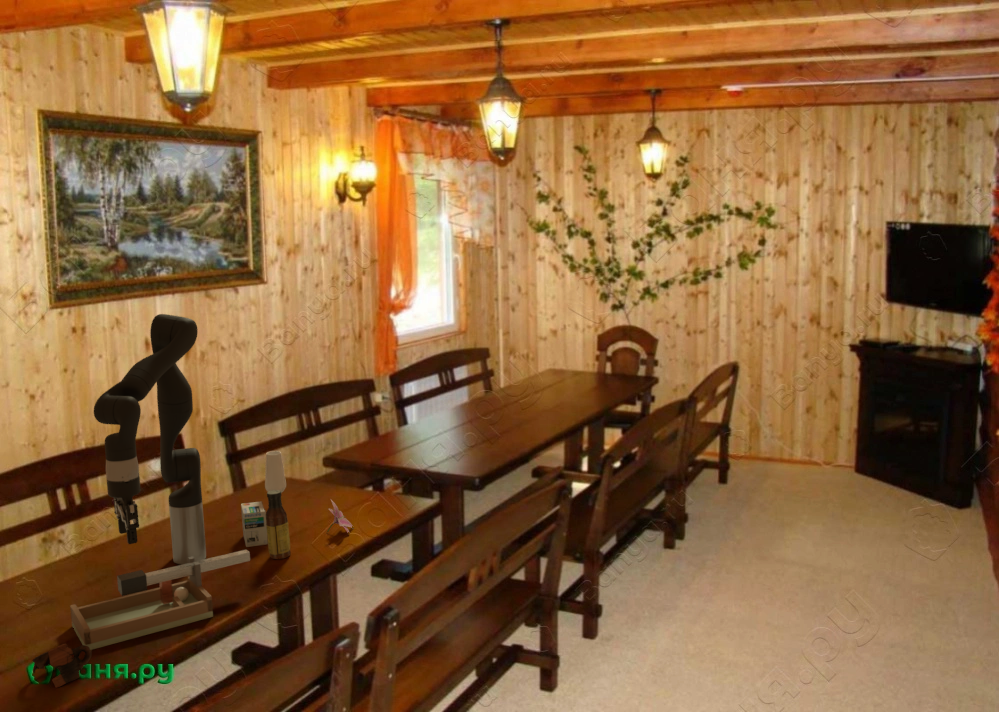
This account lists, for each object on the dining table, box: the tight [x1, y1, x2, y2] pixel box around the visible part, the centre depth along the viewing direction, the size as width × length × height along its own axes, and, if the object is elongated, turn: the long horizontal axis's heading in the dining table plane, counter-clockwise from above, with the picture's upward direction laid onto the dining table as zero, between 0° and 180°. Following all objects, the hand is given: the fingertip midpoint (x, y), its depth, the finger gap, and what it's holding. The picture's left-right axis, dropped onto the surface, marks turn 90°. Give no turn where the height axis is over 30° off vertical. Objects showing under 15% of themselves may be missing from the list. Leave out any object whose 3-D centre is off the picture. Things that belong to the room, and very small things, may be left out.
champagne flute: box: [264, 450, 287, 494], centre depth 296 cm, size 7×7×24 cm
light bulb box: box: [240, 501, 268, 548], centre depth 284 cm, size 11×7×11 cm, turn 20°
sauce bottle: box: [266, 490, 291, 560], centre depth 270 cm, size 7×6×20 cm
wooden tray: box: [69, 556, 214, 651], centre depth 230 cm, size 16×30×12 cm, turn 125°
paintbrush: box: [116, 549, 251, 604], centre depth 239 cm, size 4×33×9 cm, turn 125°
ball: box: [174, 587, 189, 601], centre depth 238 cm, size 4×4×4 cm
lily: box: [326, 499, 353, 533], centre depth 290 cm, size 12×12×10 cm
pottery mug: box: [32, 643, 93, 689], centre depth 205 cm, size 12×10×8 cm
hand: (128, 537), depth 229 cm, fingers open, 8 cm apart
